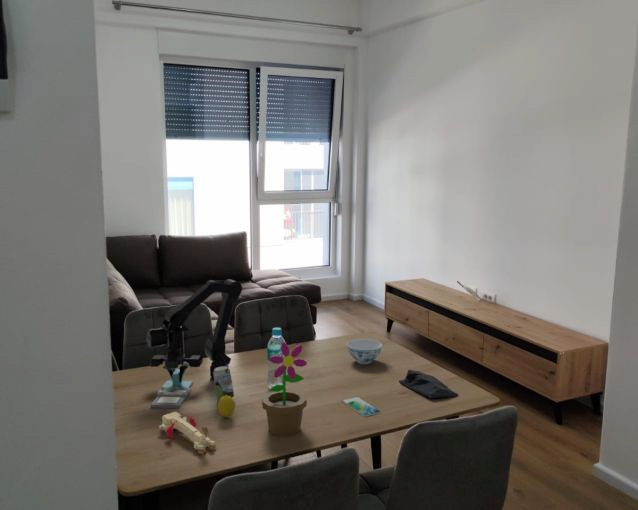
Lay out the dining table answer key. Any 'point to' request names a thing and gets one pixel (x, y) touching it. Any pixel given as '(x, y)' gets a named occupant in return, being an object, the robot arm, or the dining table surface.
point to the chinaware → (364, 350)
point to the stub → (177, 381)
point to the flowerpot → (285, 396)
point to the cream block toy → (187, 431)
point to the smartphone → (361, 406)
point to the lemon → (226, 406)
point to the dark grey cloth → (426, 385)
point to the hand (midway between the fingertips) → (177, 382)
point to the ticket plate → (170, 397)
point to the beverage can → (223, 382)
